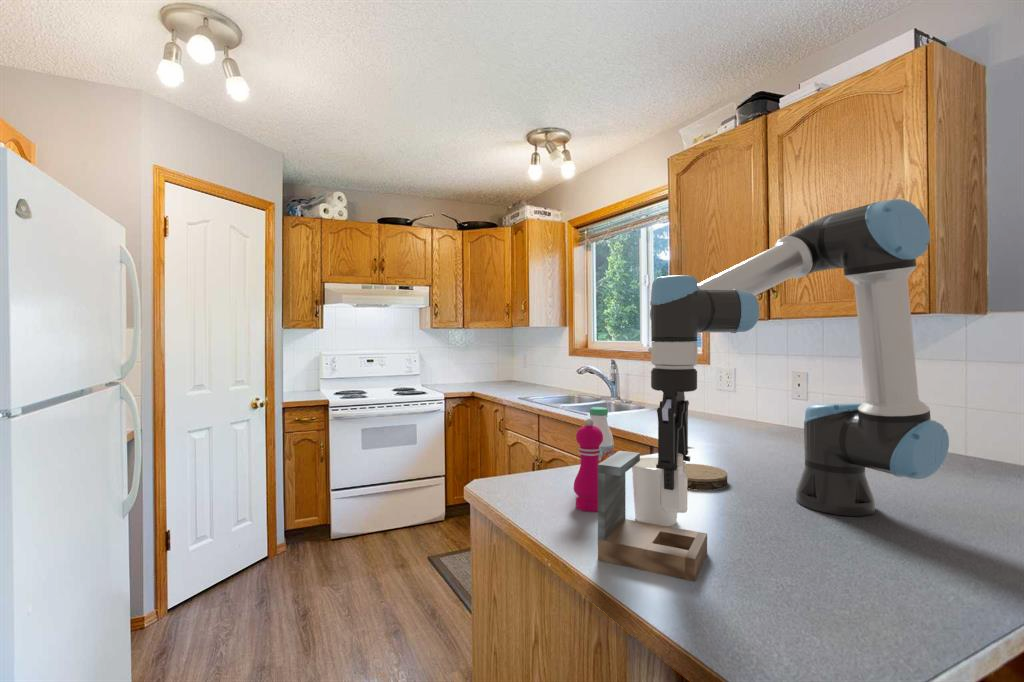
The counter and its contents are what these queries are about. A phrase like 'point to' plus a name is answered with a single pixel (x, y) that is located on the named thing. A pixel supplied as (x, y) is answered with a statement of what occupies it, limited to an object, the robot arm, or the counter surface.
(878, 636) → the counter surface
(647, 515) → the candle holder
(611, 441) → the milk bottle
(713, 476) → the tan flat round disc
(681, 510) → the salt shaker
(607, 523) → the socket stand
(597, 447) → the pepper mill
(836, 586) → the counter surface
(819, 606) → the counter surface
